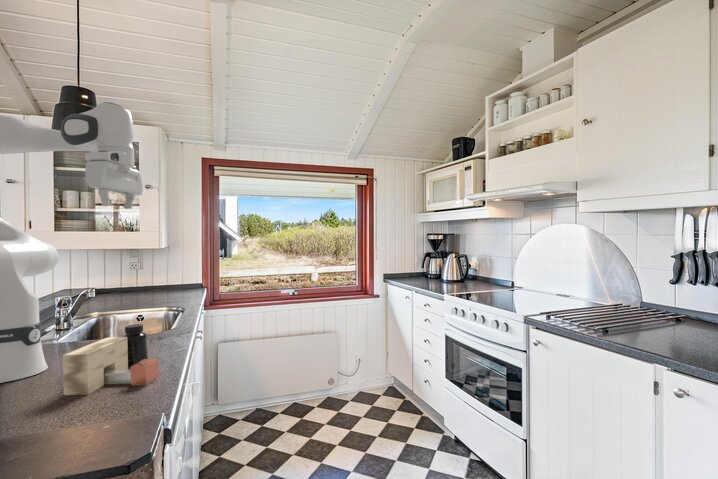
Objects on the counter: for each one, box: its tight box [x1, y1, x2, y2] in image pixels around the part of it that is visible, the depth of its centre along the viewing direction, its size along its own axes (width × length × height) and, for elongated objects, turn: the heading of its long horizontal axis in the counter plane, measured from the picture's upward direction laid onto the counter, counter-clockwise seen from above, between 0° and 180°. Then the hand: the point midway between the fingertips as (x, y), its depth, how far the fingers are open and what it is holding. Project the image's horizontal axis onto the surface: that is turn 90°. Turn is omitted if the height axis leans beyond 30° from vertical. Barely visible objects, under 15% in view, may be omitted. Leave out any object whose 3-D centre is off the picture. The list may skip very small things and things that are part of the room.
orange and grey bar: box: [104, 358, 159, 387], centre depth 98 cm, size 14×6×5 cm, turn 91°
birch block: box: [62, 336, 129, 396], centre depth 98 cm, size 6×16×10 cm, turn 1°
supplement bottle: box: [122, 323, 149, 369], centre depth 112 cm, size 7×7×12 cm
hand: (117, 207), depth 106 cm, fingers open, 8 cm apart
